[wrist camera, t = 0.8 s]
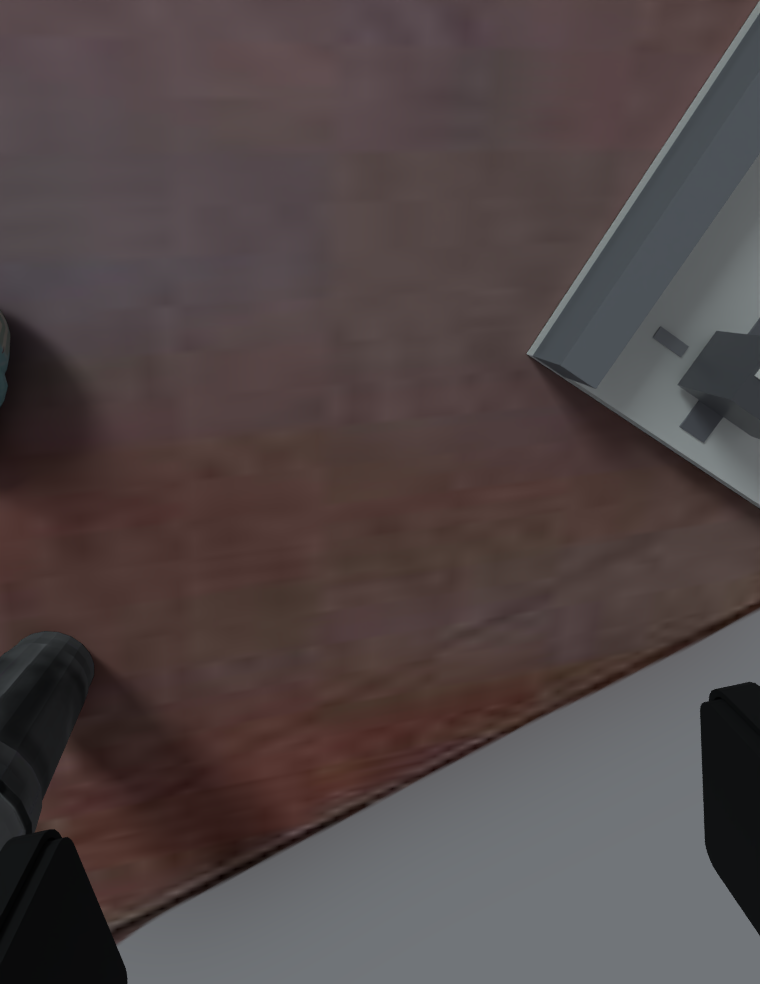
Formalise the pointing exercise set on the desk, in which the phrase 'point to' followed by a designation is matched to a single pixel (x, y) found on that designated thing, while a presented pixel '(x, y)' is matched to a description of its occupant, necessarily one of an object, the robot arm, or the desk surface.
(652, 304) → the console
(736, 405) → the fader knob
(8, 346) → the stuffed animal
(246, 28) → the desk surface
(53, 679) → the beverage cup
